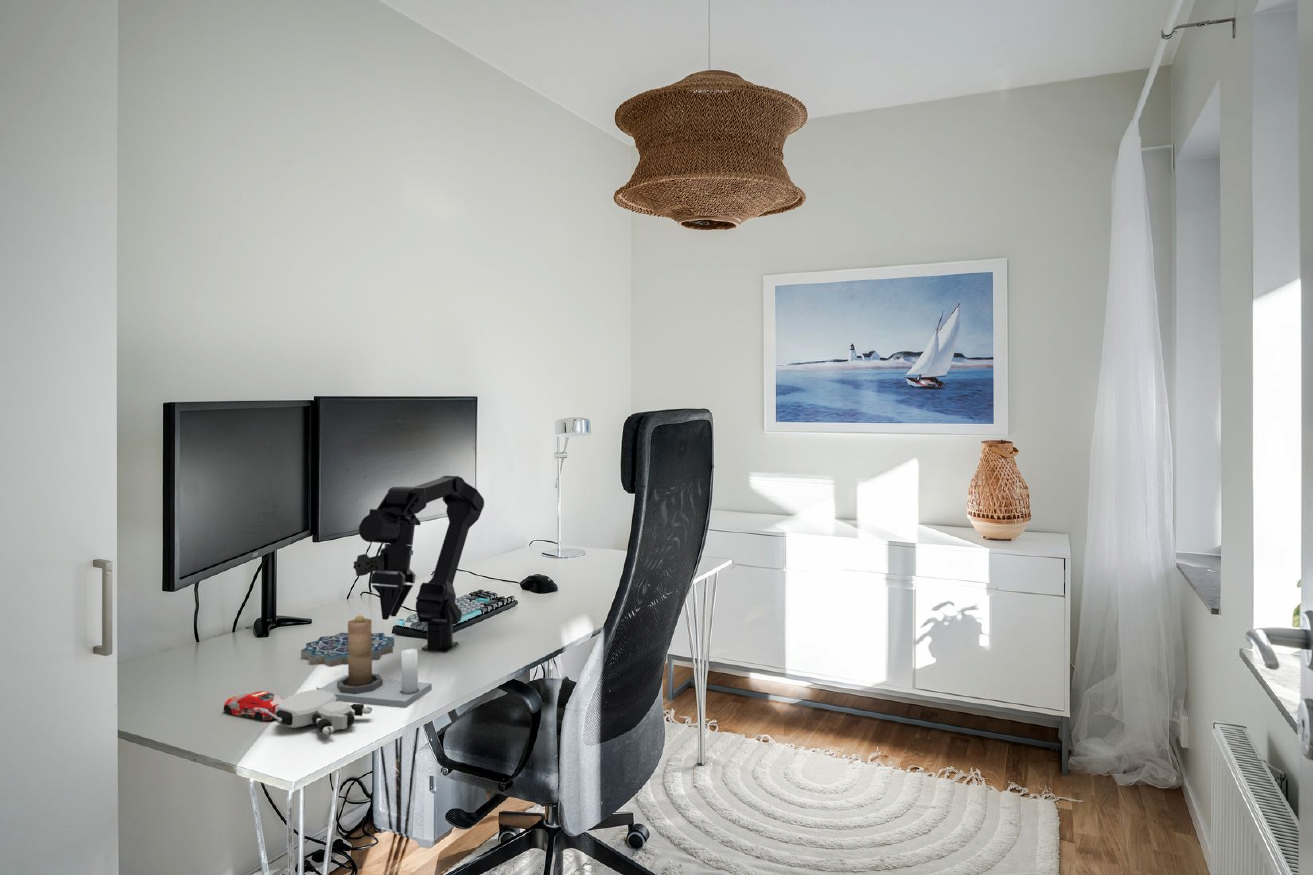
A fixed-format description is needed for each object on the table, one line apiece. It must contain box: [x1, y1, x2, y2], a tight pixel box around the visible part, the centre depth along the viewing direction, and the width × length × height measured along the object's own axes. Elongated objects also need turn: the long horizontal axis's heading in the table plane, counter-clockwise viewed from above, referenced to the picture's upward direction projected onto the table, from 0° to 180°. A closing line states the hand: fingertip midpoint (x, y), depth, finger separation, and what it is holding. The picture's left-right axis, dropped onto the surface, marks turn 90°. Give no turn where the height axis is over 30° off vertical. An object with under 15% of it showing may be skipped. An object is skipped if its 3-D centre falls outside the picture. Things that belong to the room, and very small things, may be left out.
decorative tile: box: [300, 632, 395, 668], centre depth 182 cm, size 20×20×2 cm
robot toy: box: [264, 686, 373, 735], centre depth 140 cm, size 12×4×15 cm
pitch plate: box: [319, 648, 433, 708], centre depth 155 cm, size 10×20×9 cm, turn 77°
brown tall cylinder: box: [347, 614, 373, 687], centre depth 156 cm, size 4×4×14 cm
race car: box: [223, 690, 285, 722], centre depth 146 cm, size 13×5×4 cm, turn 67°
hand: (389, 617), depth 167 cm, fingers open, 9 cm apart
